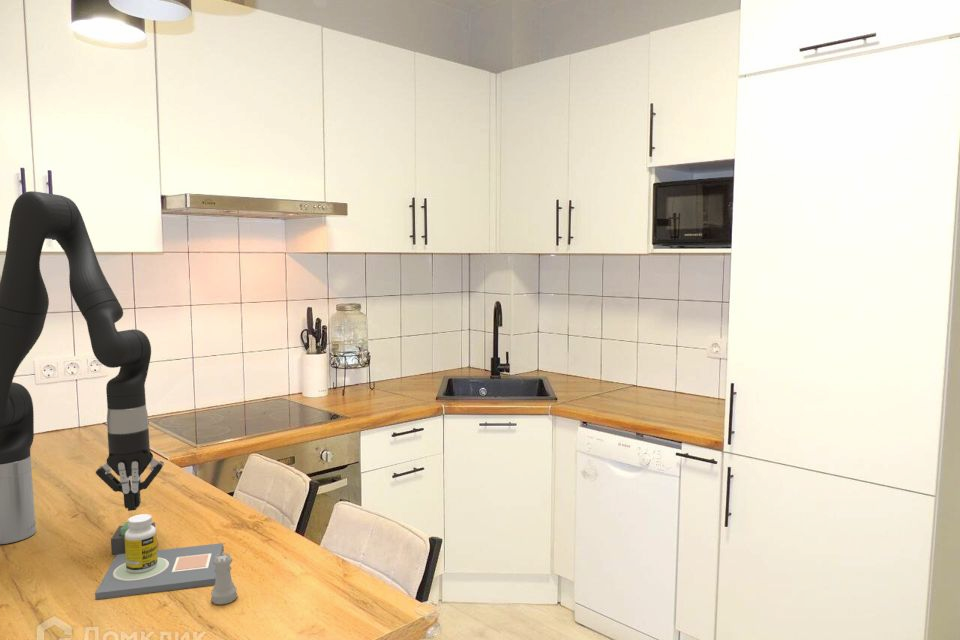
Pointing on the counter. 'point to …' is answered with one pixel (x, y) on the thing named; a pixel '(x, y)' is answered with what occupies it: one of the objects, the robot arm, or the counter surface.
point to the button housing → (119, 542)
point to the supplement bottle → (140, 544)
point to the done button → (124, 528)
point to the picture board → (163, 572)
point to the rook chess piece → (223, 581)
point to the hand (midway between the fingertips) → (133, 509)
